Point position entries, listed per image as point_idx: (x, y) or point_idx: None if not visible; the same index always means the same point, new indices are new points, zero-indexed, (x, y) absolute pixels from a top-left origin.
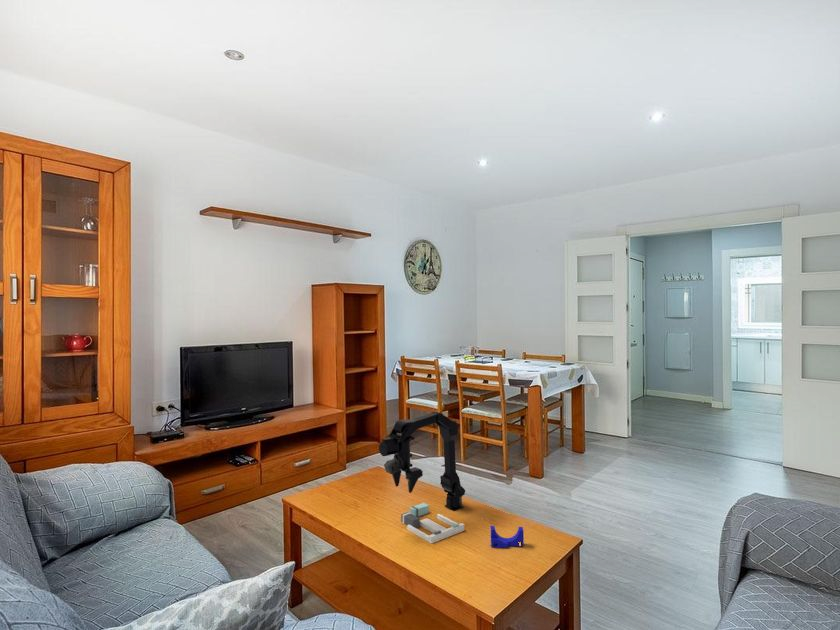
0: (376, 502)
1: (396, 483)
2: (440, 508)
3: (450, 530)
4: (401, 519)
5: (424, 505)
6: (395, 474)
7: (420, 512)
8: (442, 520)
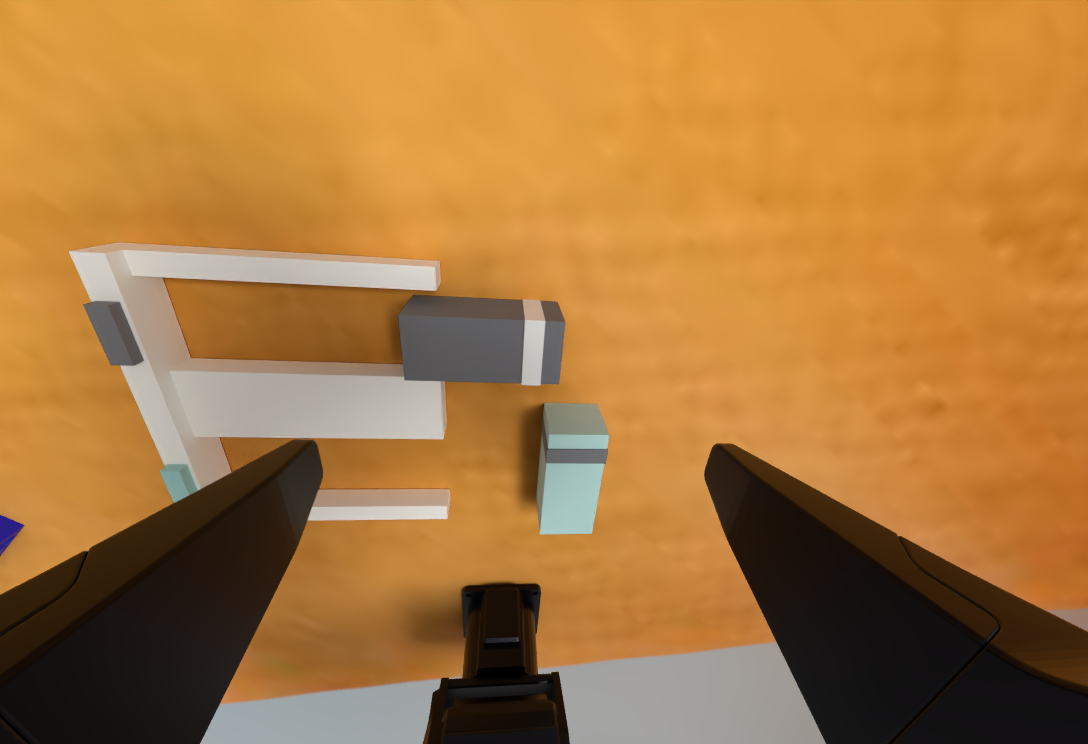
0: (906, 368)
1: (741, 482)
2: (538, 562)
3: (157, 432)
4: (558, 308)
5: (558, 516)
6: (942, 684)
7: (542, 459)
8: (396, 492)
